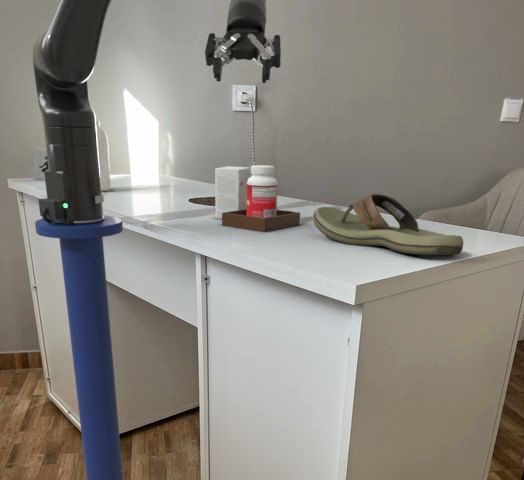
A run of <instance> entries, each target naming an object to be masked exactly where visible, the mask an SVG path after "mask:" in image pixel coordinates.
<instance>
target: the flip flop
mask: <svg viewBox="0 0 524 480" xmlns="http://www.w3.org/2000/svg"><path fill="white" fill-rule="evenodd" d="M377 207H379V208H380V209H382V210H384V211H385V212H387V214H389V215H390V216H392V217H393V218H394V219H395V221H396V222H397V224H398V226H392V225H391V226H390V225H389V224H388V222H387V221H386V219H385V218H384V217H383V216H382V215H381V213H380V212H379V210H378V208H377ZM352 210H353V211H354V213H352V212H351V211H352ZM312 221H313V224H314V225H315V227H316V228H317V229H318V230H319V232H321V233H322V234H323V235H325V236H326V237H328V238H330V239H332V240H333V241H336V242H339V243H343V244H347V245H350V246H362V247H363V246H364V247H368V246H375V247H376V246H382V247H385V248H388V249H389V250H392V251H395V252H398V253H402V254H403V253H404V254H410V255H411V254H412V255H420V256H433V255H434V256H451V255H454V256H455V255H460V254H461V253H462V251H463V248H464V238H463V237H462V236H461V235H455V234H444V233H440V232H434V231H431V230H427V229H422V228H419V223H418V221H417V219H416V218H415V216H414V215H413V214H412V213H411V212H410V211H409V209H407V208H406V207H405V206H404V205H403V204H401V203H400V202H399V201H398V200H397V199H395V198H393V197H390V196H389V195H385V194H380V193H373V194H370V195H368V196H366V197H364V198H361V199H359V200H357V201H354V202H352V203H351V204H349V206H348V207H347V209H346V210H342V209H339V208H337V207H331V206H320V207H318V208H315V210H314V212H313V217H312Z"/></svg>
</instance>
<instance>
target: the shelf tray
mask: <svg viewBox="0 0 524 480" xmlns="http://www.w3.org/2000/svg"><path fill="white" fill-rule="evenodd" d="M300 220H301V212H298V211H292V210H291V211H290V210H283V209H282V210H281V209H277V216H275V217H269V218H259V217H252V216H247V209H244V210H237V211H231V212H224V213H222V219H221V225H222V226H223V227H231V228H236V229H243V230H250V231H257V232H264V233H267V232H271V231H277V230H281V229H286V228H291V227H295V226H300V225H301V223H300V222H301V221H300Z"/></svg>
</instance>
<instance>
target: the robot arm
mask: <svg viewBox="0 0 524 480" xmlns="http://www.w3.org/2000/svg"><path fill="white" fill-rule="evenodd" d="M111 2H112V0H60V1H59V3H58V6H57V8H56V11H55V14H54V16H53V18H52V20H51V21H50V24H49V27H48V28H47V30H46V31H44V32H42V33H41V34H40V35H39V36H38V37H37V38H36V40H35V41H34V43H33V47H32V66H33V75H34V81H35V88H36V89H35V90H36V96H37V103H38V107H39V110H40V114H41V118H42V126H43V132H44V142H45V148H46V151H47V160H48V169H49V170H45V172H44V175H45V179H44V182H45V183H44V184H45V192H46V198H45V197H44V198H38V208H39V215H40V217H41V219H44V220H45V221H46V222H48V223H49V224H51V223H52V222H53V223H58V224H63V225H85V224H95V223H100V222H103V221H104V216H105V215H104V209H103V208H104V207H103V206H104V205H103V203H104V202H105V199H104V194H102V192H101V181H100V170H99V158H98V146H97V133H96V128H95V127H96V120H95V119H96V113H95V112H94V109H93V107H92V105H91V101H90V96H89V86H88V79H89V78H90V76H91V75H92V74H93V72H94V69H95V66H96V60H97V56H98V52H99V46H100V42H101V37H102V33H103V28H104V24H105V20H106V16H107V13H108V10H109V7H110V4H111ZM226 19H227V20H226V21H227V22H226V30H225V34H224V35H223V37H216V34H215V33H214V32H210V33H209V34H208V36H207V40H206V45H205V49H204V50H205V51H204V57H205V65H206V66H207V67H211V66H212V76H213V79H214V80H215V79H216V82H218V83H219V82H222V81H221V80H222V73H223V67H224V65H226V64H227V65H230V63H231V62H233V61H234V60H235V61H240V60H246V61H252V60H254V61H255V63H256V64H257V65H259V66H261V68H262V71H261V84H266V83H267V81H269V80H270V79H271V69H272V68H276V69H279V68H281V57H282V52H281V51H282V50H281V48H282V47H281V36H280V34H275V35H274V36H273V38H267V37H266V35H265V34H266V24H267V0H230V2H229V5H228V11H227V18H226ZM219 48H220V49H219ZM267 48H269V50H270V51H271V53H273V55H271V54H270V53H269V52H268V51H267V50H266V49H267ZM49 218H50V219H49Z"/></svg>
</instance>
